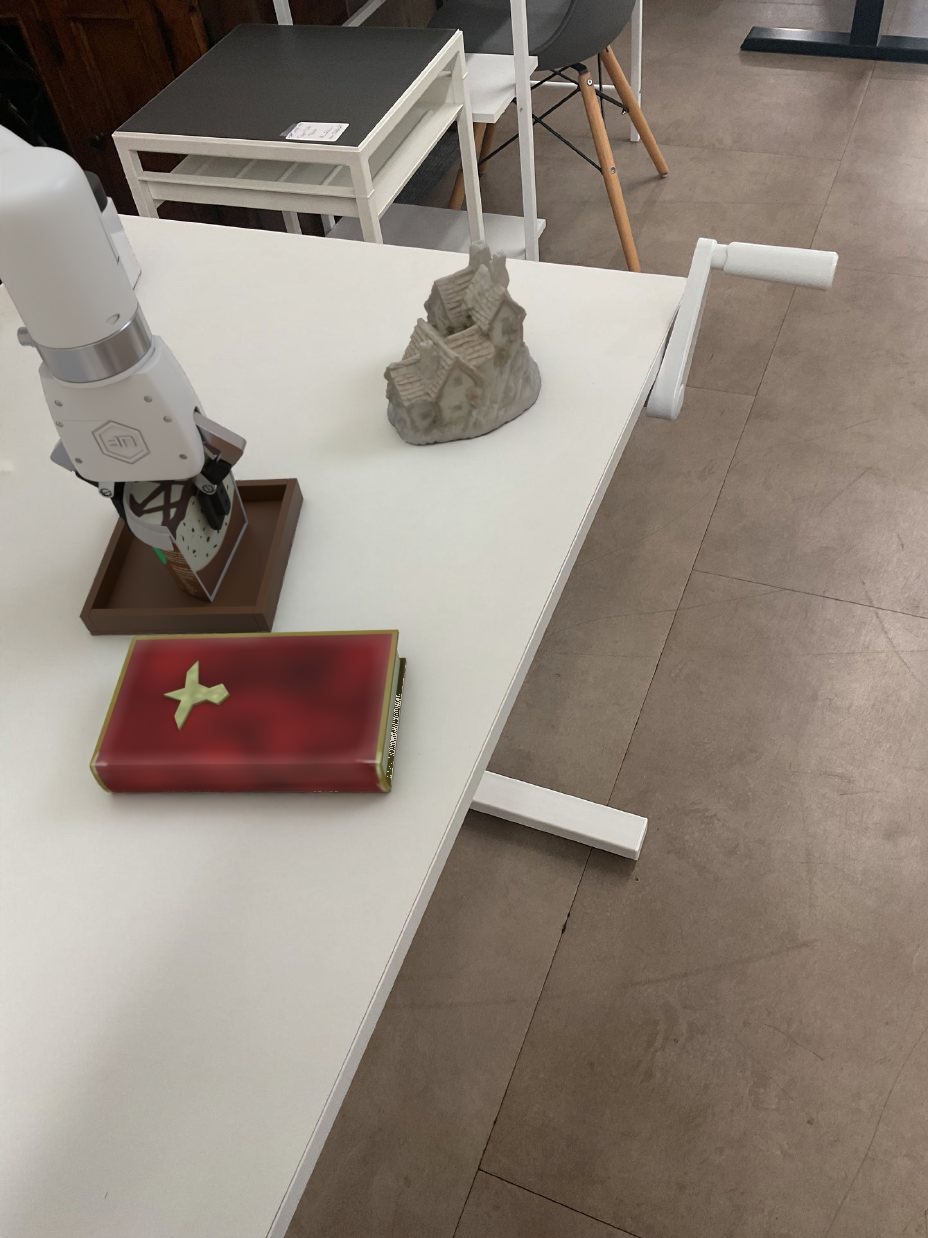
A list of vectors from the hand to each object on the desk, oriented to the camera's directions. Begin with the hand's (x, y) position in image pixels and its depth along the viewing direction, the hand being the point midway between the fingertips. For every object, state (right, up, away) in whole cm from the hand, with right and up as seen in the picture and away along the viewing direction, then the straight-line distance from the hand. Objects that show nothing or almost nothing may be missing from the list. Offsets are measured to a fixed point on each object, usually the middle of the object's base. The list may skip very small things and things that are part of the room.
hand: (179, 518), depth 84 cm
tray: (+1, -4, +4) cm, 6 cm away
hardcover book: (+8, -17, -7) cm, 20 cm away
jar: (-19, +31, +36) cm, 51 cm away
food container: (+1, -3, +4) cm, 5 cm away
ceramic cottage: (+23, +15, +16) cm, 32 cm away
